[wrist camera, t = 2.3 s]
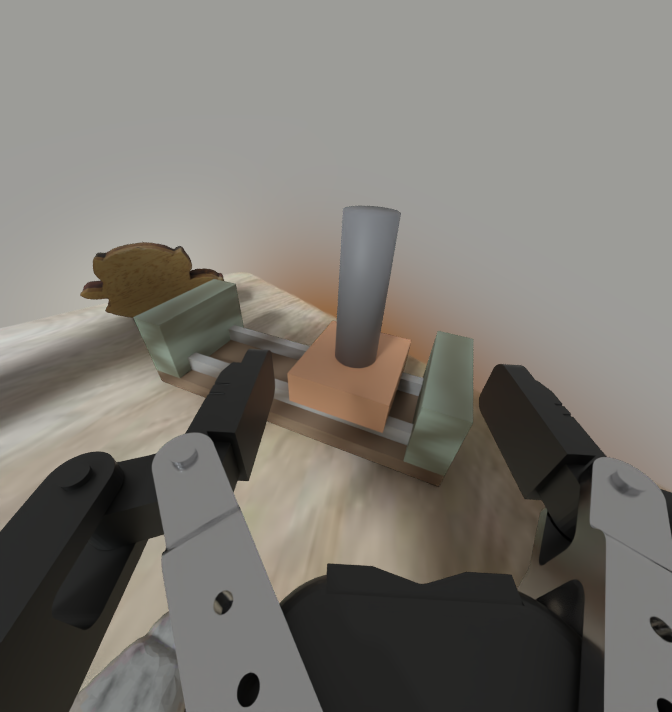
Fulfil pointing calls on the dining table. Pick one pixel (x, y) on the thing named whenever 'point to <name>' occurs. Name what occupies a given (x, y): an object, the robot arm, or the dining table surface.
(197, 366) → the rail bed
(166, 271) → the wooden carving
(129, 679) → the decorative stone
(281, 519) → the dining table surface
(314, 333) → the dining table surface
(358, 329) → the carriage
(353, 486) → the dining table surface
